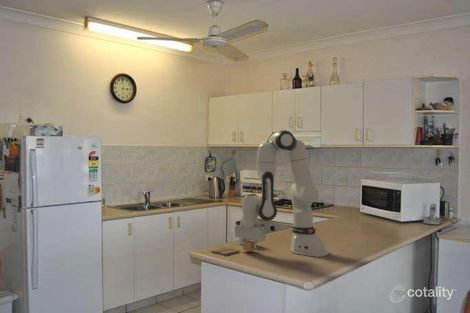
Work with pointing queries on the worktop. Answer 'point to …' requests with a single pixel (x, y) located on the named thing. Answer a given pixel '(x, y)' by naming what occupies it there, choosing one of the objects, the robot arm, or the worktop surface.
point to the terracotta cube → (249, 245)
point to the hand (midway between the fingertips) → (249, 247)
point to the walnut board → (225, 251)
